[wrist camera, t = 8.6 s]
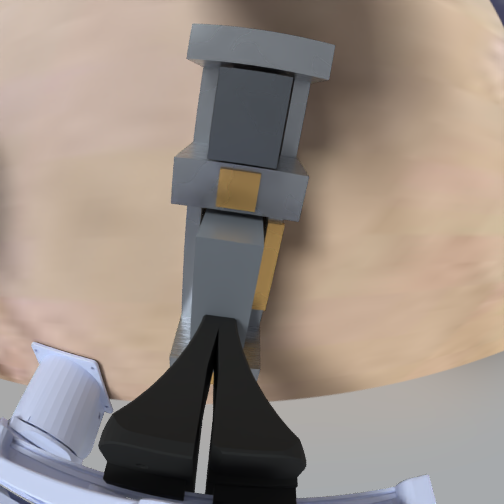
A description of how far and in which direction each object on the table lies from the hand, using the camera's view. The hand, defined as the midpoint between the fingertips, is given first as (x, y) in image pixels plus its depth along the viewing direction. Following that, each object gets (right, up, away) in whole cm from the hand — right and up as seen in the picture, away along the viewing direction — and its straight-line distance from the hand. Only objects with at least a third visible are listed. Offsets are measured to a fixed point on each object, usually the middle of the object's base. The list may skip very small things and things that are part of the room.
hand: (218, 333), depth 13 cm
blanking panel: (0, +4, +6) cm, 7 cm away
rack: (0, +6, +5) cm, 8 cm away
